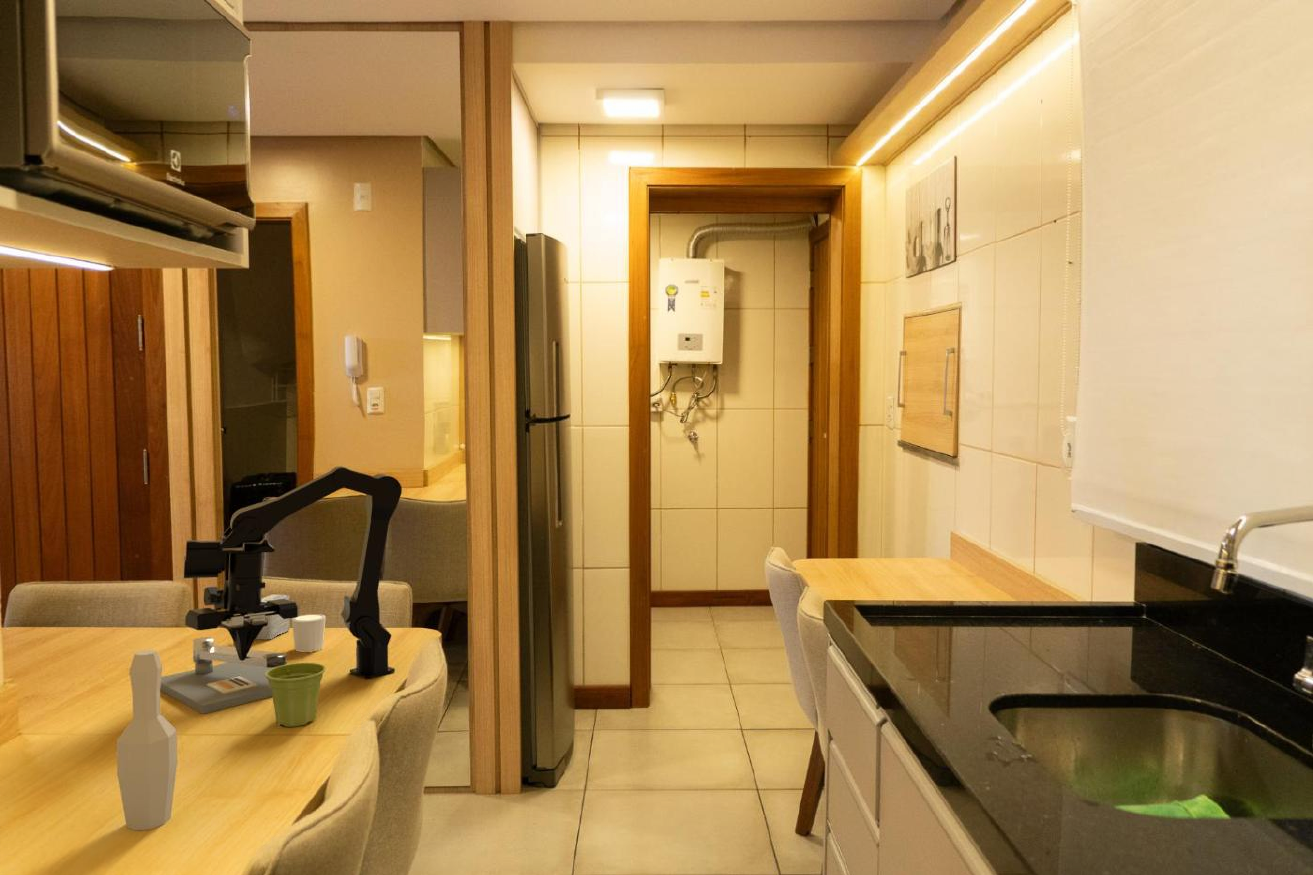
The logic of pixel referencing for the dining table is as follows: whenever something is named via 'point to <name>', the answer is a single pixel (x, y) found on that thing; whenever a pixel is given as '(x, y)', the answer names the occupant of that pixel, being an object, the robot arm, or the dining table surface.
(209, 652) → the swing arm
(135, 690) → the low poly bottle
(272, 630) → the medicine box
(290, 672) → the plant pot
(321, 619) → the white cup
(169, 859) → the dining table surface
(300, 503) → the robot arm
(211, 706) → the label board
